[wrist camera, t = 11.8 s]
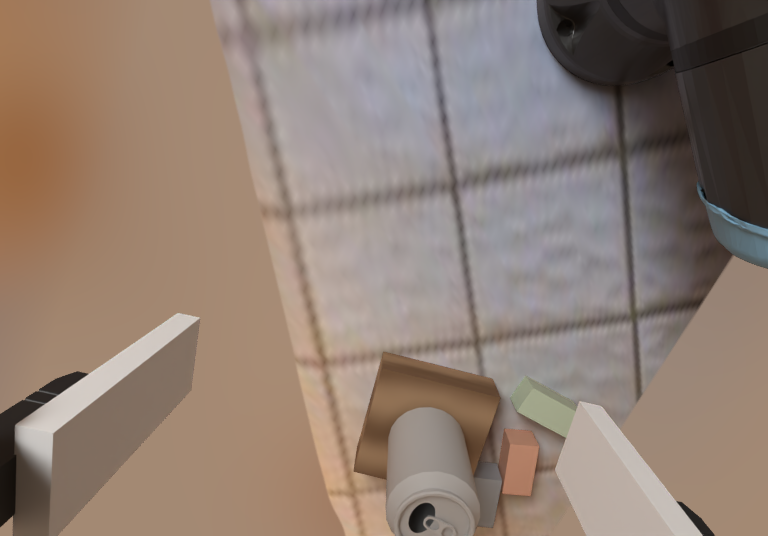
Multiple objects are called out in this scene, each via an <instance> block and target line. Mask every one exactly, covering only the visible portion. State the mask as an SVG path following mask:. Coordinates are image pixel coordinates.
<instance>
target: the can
mask: <svg viewBox="0 0 768 536" xmlns="http://www.w3.org/2000/svg"><path fill="white" fill-rule="evenodd" d="M479 519H480V503H479V499H478V494H477V490H476V486H475V482H474V477H473V473H472V469H471V464H470V460H469V456H468V451H467V447H466V443H465V438H464V434H463V432H462V429H461V427H460V424H459V423H458V422H457V421H456V420H455V419H454V418H453V416H451V415H450V414H448V413H446V412H445V411H443V410H440V409H436V408H432V407H423V408H416V409H413V410H410V411H407V412H406V413H404V414H403V415H402V416H400V417H399V418H398V419H397V420H396V421H395V423H394V424H393V426H392V427H391V430H390V434H389V437H388V460H387V485H386V520H387V522H388V524H389V526H390V529H391V531H392V532H393V533H394V534H395V536H473V535H474V533H475V530H476V527H477V525H478V522H479Z"/></svg>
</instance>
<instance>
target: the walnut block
mask: <svg viewBox="0 0 768 536" xmlns="http://www.w3.org/2000/svg"><path fill="white" fill-rule="evenodd" d="M499 401H500V395H499V393H498V391H497V388H496V386H495V384H494V381H493V379H491V378H487V377H483V376H479V375H475V374H471V373H467V372H463V371H459V370H455V369H451V368H447V367H443V366H439V365H435V364H431V363H427V362H423V361H419V360H415V359H411V358H407V357H403V356H399V355H395V354H391V353H387V352H383V355H382V359H381V362H380V366H379V370H378V373H377V377H376V381H375V384H374V388H373V392H372V395H371V399H370V403H369V406H368V410H367V413H366V417H365V421H364V424H363V428H362V432H361V435H360V439H359V443H358V446H357V452H356V458H355V465H354V472H358V473H362V474H366V475H370V476H374V477H378V478H382V479H386V480H387V460H388V437H389V434H390V430H391V427H392V426H393V424H394V423H395V421H396V420H397V419H398V418H399V417H400V416H402V415H403V414H404V413H406V412H407V411H410V410H413V409H416V408H423V407H432V408H436V409H440V410H443V411H445V412H446V413H448V414H450V415H451V416H453V418H454V419H455V420H456V421H457V422H458V423H459V424H460V427H461V429H462V432H463V434H464V438H465V443H466V447H467V451H468V456H469V460H470V464H471V469H472V473H473V475H474V473H475V470H476V467H477V464H478V461H479V458H480V455H481V453H482V450H483V447H484V444H485V441H486V438H487V435H488V432H489V430H490V427H491V424H492V421H493V418H494V415H495V412H496V410H497V407H498V404H499Z"/></svg>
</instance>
